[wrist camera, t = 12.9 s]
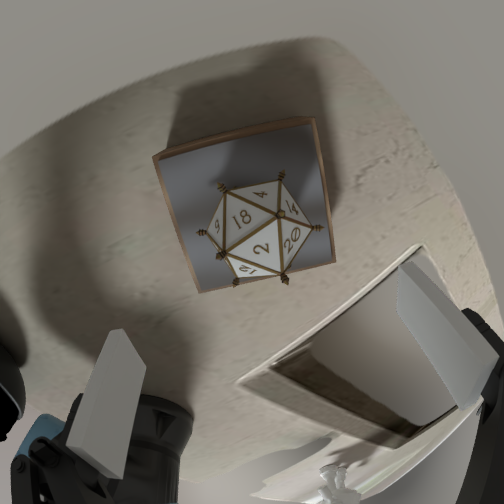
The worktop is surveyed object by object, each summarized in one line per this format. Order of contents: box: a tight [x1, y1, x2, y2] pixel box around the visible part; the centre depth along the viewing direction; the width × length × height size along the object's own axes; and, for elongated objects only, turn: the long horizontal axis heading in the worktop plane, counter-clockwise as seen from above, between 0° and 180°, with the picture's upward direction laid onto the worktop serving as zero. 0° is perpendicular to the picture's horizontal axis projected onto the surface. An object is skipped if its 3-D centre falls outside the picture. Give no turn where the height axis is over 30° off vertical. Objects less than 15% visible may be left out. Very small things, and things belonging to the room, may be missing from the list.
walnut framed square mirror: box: [152, 116, 336, 293], centre depth 29 cm, size 14×14×6 cm
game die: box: [196, 169, 325, 288], centre depth 22 cm, size 9×8×10 cm
